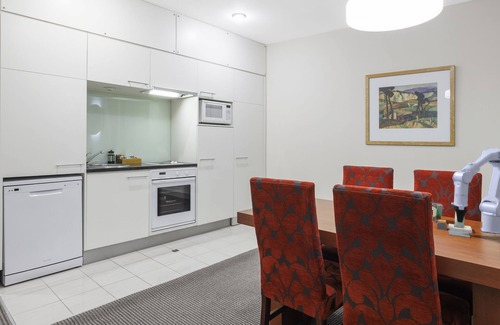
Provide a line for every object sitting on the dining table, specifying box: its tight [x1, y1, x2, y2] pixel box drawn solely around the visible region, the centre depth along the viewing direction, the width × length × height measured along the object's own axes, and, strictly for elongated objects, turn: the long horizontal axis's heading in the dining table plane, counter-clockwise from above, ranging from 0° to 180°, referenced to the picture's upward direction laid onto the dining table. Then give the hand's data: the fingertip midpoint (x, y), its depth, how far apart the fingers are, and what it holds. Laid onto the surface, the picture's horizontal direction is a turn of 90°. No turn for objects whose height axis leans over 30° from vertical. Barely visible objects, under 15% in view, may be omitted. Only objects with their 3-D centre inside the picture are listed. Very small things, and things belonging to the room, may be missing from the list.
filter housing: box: [436, 222, 473, 234], centre depth 175 cm, size 16×10×3 cm, turn 60°
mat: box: [447, 229, 471, 238], centre depth 165 cm, size 9×9×1 cm
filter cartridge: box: [454, 211, 465, 228], centre depth 165 cm, size 4×4×9 cm
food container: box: [431, 202, 445, 224], centre depth 194 cm, size 12×6×10 cm, turn 179°
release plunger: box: [438, 219, 447, 224], centre depth 176 cm, size 4×4×4 cm
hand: (459, 221), depth 165 cm, fingers closed on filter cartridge, 4 cm apart
